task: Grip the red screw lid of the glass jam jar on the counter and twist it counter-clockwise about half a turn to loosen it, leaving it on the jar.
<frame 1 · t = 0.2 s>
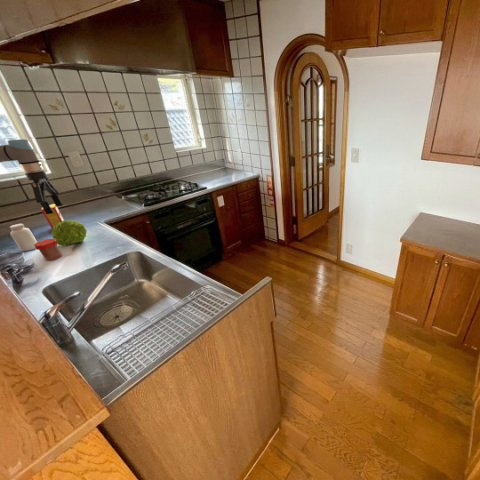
hand: (54, 209, 146), 24 cm above the countertop, tool pointing down, fingers open, 13 cm apart
baking soda box: (60, 227, 182), on the countertop
cap: (45, 242, 137), point 11 cm above the countertop, screwed on, not yet turned
pill bottle: (30, 248, 156), on the countertop
lettuce: (75, 241, 163), on the countertop
jar: (55, 260, 143), on the countertop
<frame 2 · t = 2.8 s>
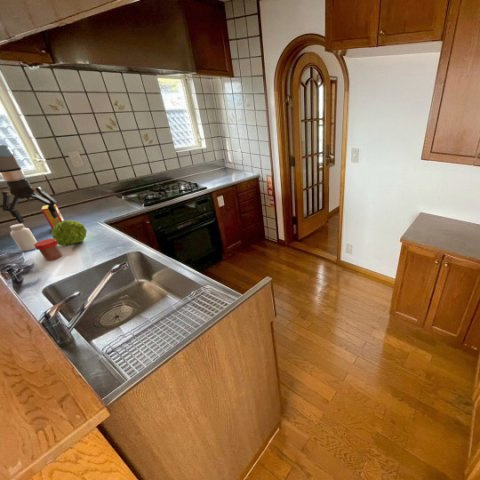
hand: (39, 220, 135), 23 cm above the countertop, tool pointing down, fingers open, 13 cm apart
nothing on the countertop moved.
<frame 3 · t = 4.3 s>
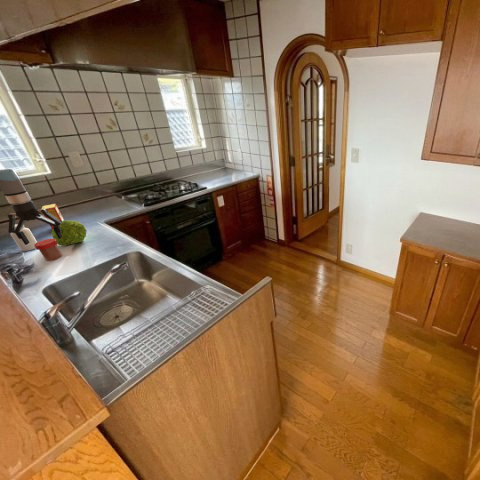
hand: (44, 240, 137), 12 cm above the countertop, tool pointing down, fingers open, 13 cm apart
nothing on the countertop moved.
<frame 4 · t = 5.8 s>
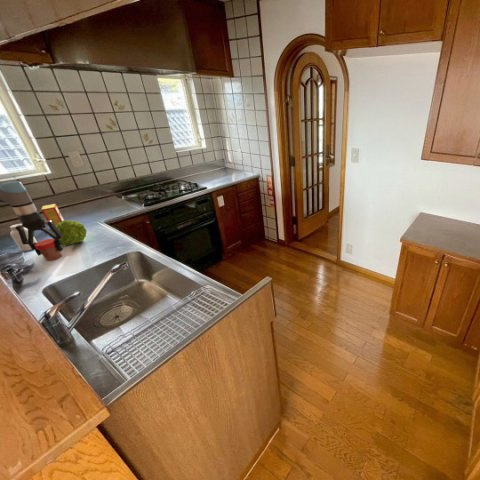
hand: (50, 252, 140), 5 cm above the countertop, tool pointing down, fingers closed on cap, 8 cm apart
cap: (45, 242, 137), point 11 cm above the countertop, screwed on, not yet turned, touching gripper
everything else where it was.
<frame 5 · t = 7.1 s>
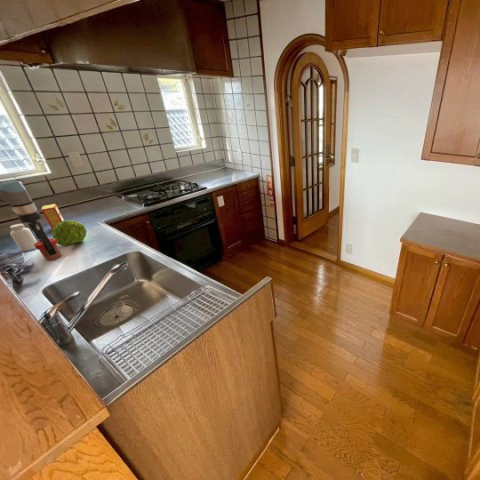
hand: (50, 252, 140), 5 cm above the countertop, tool pointing down, fingers closed on cap, 8 cm apart
cap: (45, 242, 137), point 11 cm above the countertop, turned 120° so far, risen 0.2 cm, still on its thread, touching gripper
everything else where it was.
when the fingers open (5 cm above the countertop, at t = 8.4 s): cap stays where it is, point 11 cm above the countertop.
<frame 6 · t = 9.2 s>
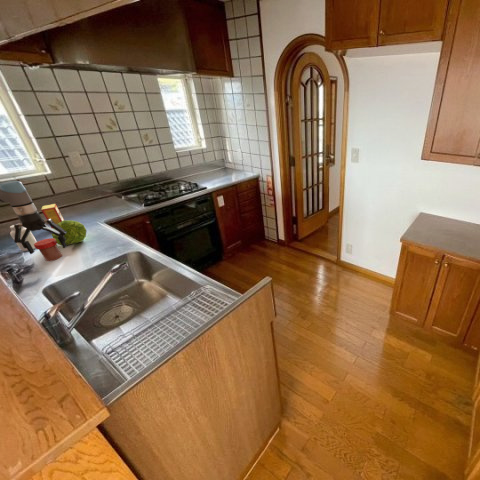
hand: (49, 249, 139), 7 cm above the countertop, tool pointing down, fingers open, 13 cm apart
cap: (45, 242, 137), point 11 cm above the countertop, turned 180° so far, risen 0.2 cm, still on its thread
everything else where it was.
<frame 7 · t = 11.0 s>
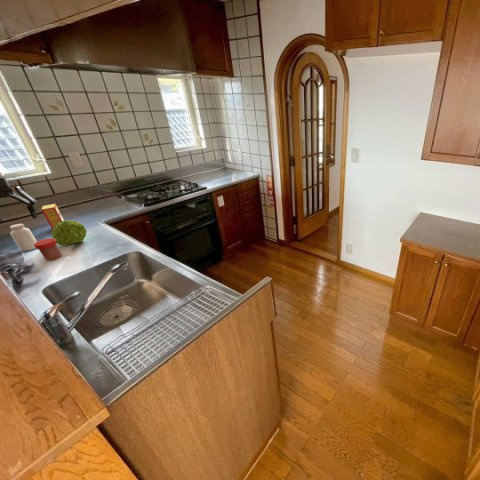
hand: (17, 220, 131), 24 cm above the countertop, tool pointing down, fingers open, 13 cm apart
nothing on the countertop moved.
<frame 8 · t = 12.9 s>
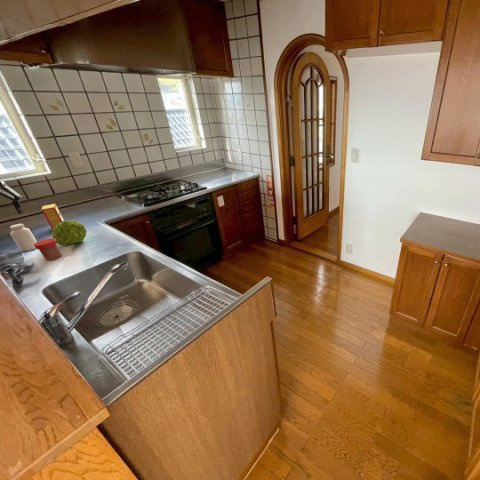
hand: (3, 215, 131), 27 cm above the countertop, tool pointing down, fingers open, 13 cm apart
nothing on the countertop moved.
at the end: cap turned 0.50 turns (still on its thread); cap is still on its thread (0.50 turns); jar tilted 0° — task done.
